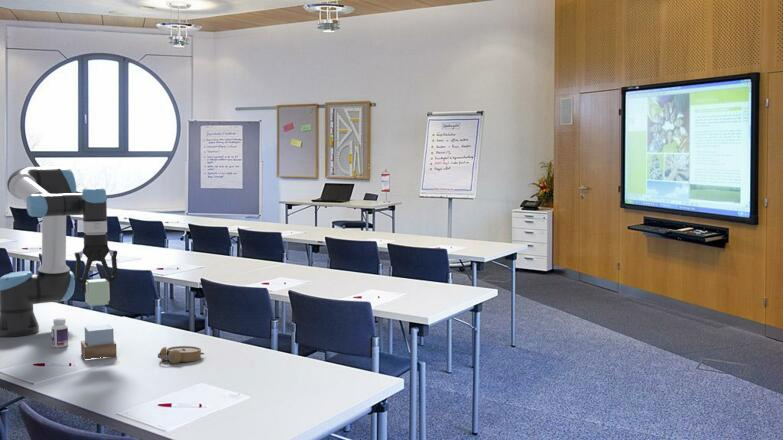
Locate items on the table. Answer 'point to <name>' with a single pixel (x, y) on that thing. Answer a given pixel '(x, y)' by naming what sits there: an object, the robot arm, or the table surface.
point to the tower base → (98, 350)
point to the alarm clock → (180, 354)
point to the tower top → (99, 335)
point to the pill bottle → (59, 333)
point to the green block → (97, 292)
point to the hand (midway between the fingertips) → (97, 301)
